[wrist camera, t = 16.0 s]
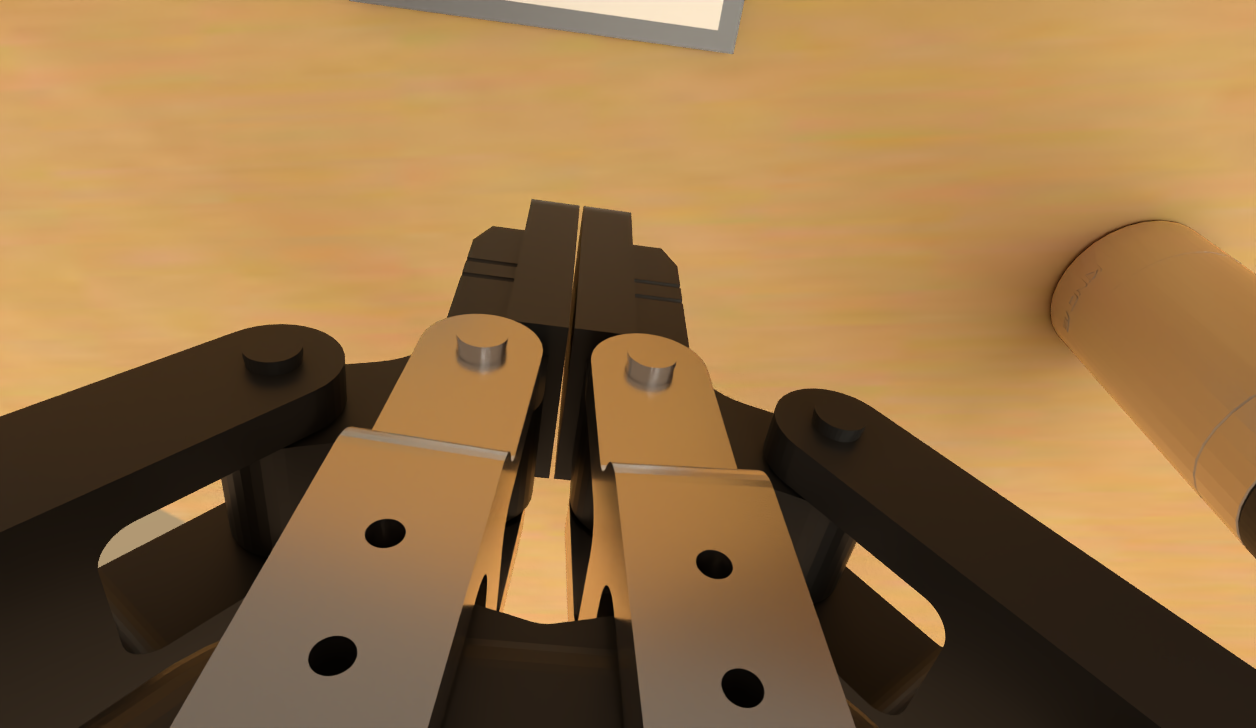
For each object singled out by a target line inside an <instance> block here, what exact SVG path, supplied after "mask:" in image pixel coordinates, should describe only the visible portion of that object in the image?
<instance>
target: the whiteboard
mask: <svg viewBox="0 0 1256 728" xmlns="http://www.w3.org/2000/svg"><path fill="white" fill-rule="evenodd" d="M349 1H354V2H361V3H369V4H376V5H383V6H390V7H397V8H405V9H412V10H419V11H426V12H433V13H441V14H448V15H455V16H462V17H469V18H477V19H484V20H491V21H498V22H505V23H513V24H520V25H527V26H534V27H542V28H549V29H556V30H563V31H570V32H578V33H585V34H592V35H599V36H606V37H614V38H621V39H628V40H635V41H642V42H650V43H657V44H664V45H671V46H678V47H686V48H693V49H700V50H707V51H715V52H722V53H729V54H733V53H734V48H735V43H736V38H737V34H738V29H739V24H740V19H741V14H742V10H743V5H744V0H349Z"/></svg>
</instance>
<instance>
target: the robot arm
mask: <svg viewBox="0 0 1256 728" xmlns="http://www.w3.org/2000/svg"><path fill="white" fill-rule="evenodd" d="M578 218H579V206H578V205H571V204H563V203H556V202H549V201H542V200H534V199H532V200H531V205H530V209H529V214H528V219H527V223H526V228H525V230H518V229H510V228H503V227H495V226H492V227H491V228H489V229H488V230H487V231H485V232H484V233H482V234H481V235H479V236H478V237H476V238H475V239H473V242H472V245H471V248H470V251H469V254H468V257H467V261H466V263H465V266H464V269H463V272H462V276H461V278H460V281H459V284H458V287H457V290H456V293H455V296H454V298H453V301H452V304H451V307H450V310H449V313H448V316H447V318H445V319H443V320H441V321H438V322H436V323H435V324H433V325H431V326H430V327H429V328H428V329H426V330H425V332H424V333H423V334H422V336H421V338H420V339H419V341H418V343H417V345H416V347H415V349H414V351H413V353H412V355H410V356H407V357H403V358H399V359H395V360H390V361H381V362H370V363H357V364H345V354H344V351H343V349H342V347H341V345H340V344H339V343H338V342H337V341H336V340H335V339H334V338H332V337H331V336H329V335H327V334H326V333H324V332H321V331H319V330H316V329H313V328H309V327H305V326H298V325H286V324H276V325H263V326H256V327H252V328H247V329H243V330H240V331H237V332H234V333H231V334H228V335H226V336H223V337H220V338H217V339H215V340H212V341H209V342H206V343H203V344H201V345H198V346H195V347H192V348H190V349H187V350H184V351H181V352H178V353H176V354H173V355H170V356H167V357H165V358H162V359H159V360H156V361H153V362H151V363H148V364H145V365H142V366H140V367H137V368H134V369H131V370H128V371H126V372H123V373H120V374H117V375H115V376H112V377H109V378H106V379H103V380H101V381H98V382H95V383H92V384H90V385H87V386H84V387H81V388H78V389H76V390H73V391H70V392H67V393H65V394H62V395H59V396H56V397H53V398H51V399H48V400H45V401H42V402H40V403H37V404H34V405H31V406H28V407H26V408H23V409H20V410H17V411H15V412H12V413H9V414H6V415H3V416H1V417H0V728H1256V669H1255V668H1253V667H1252V666H1250V665H1249V664H1247V663H1246V662H1244V661H1243V660H1241V659H1240V658H1238V657H1237V656H1235V655H1234V654H1233V653H1231V652H1230V651H1228V650H1227V649H1225V648H1224V647H1222V646H1221V645H1219V644H1218V643H1216V642H1215V641H1214V640H1212V639H1211V638H1209V637H1208V636H1206V635H1205V634H1203V633H1202V632H1200V631H1199V630H1197V629H1196V628H1194V627H1193V626H1192V625H1190V624H1189V623H1187V622H1186V621H1184V620H1183V619H1181V618H1180V617H1178V616H1177V615H1175V614H1174V613H1172V612H1171V611H1170V610H1168V609H1167V608H1165V607H1164V606H1162V605H1161V604H1159V603H1158V602H1156V601H1155V600H1153V599H1152V598H1150V597H1149V596H1148V595H1146V594H1145V593H1143V592H1142V591H1140V590H1139V589H1137V588H1136V587H1134V586H1133V585H1131V584H1130V583H1129V582H1127V581H1126V580H1124V579H1123V578H1121V577H1120V576H1118V575H1117V574H1115V573H1114V572H1112V571H1111V570H1109V569H1108V568H1107V567H1105V566H1104V565H1102V564H1101V563H1099V562H1098V561H1096V560H1095V559H1093V558H1092V557H1090V556H1089V555H1087V554H1086V553H1085V552H1083V551H1082V550H1080V549H1079V548H1077V547H1076V546H1074V545H1073V544H1071V543H1070V542H1068V541H1067V540H1066V539H1064V538H1063V537H1061V536H1060V535H1058V534H1057V533H1055V532H1054V531H1052V530H1051V529H1049V528H1048V527H1046V526H1045V525H1044V524H1042V523H1041V522H1039V521H1038V520H1036V519H1035V518H1033V517H1032V516H1030V515H1029V514H1027V513H1026V512H1024V511H1023V510H1022V509H1020V508H1019V507H1017V506H1016V505H1014V504H1013V503H1011V502H1010V501H1008V500H1007V499H1005V498H1004V497H1003V496H1001V495H1000V494H998V493H997V492H995V491H994V490H992V489H991V488H989V487H988V486H986V485H985V484H983V483H982V482H981V481H979V480H978V479H976V478H975V477H973V476H972V475H970V474H969V473H967V472H966V471H964V470H963V469H961V468H960V467H959V466H957V465H956V464H954V463H953V462H951V461H950V460H948V459H947V458H945V457H944V456H942V455H941V454H940V453H938V452H937V451H935V450H934V449H932V448H931V447H929V446H928V445H926V444H925V443H923V442H922V441H920V440H919V439H918V438H916V437H915V436H913V435H912V434H910V433H909V432H907V431H906V430H904V429H903V428H901V427H900V426H898V425H897V424H896V423H894V422H893V421H891V420H890V419H888V418H887V417H885V416H884V415H882V414H881V413H879V412H878V411H877V410H875V409H874V408H872V407H870V406H869V405H867V404H865V403H864V402H862V401H860V400H858V399H856V398H853V397H851V396H848V395H846V394H842V393H839V392H835V391H830V390H825V389H801V390H796V391H793V392H790V393H788V394H786V395H785V396H783V397H782V398H781V399H780V400H779V401H778V403H777V405H776V408H775V411H774V413H771V412H768V411H765V410H762V409H759V408H755V407H752V406H749V405H746V404H743V403H741V402H738V401H735V400H733V399H731V398H729V397H727V396H724V395H723V394H721V393H719V392H718V391H716V390H714V389H713V386H712V382H711V379H710V376H709V372H708V369H707V367H706V365H705V363H704V362H703V360H702V359H701V358H700V357H699V356H698V355H697V354H696V353H695V352H693V351H692V350H691V349H689V343H688V337H687V330H686V323H685V316H684V309H683V304H682V296H681V289H680V288H679V287H680V282H679V275H678V268H677V266H676V264H675V263H674V262H673V261H672V260H671V259H670V258H669V257H668V256H667V254H666V253H665V252H664V251H663V250H662V249H660V248H653V247H645V246H638V245H633V241H632V220H631V213H629V212H622V211H615V210H608V209H601V208H593V207H586V206H584V207H583V214H582V221H581V228H580V236H579V243H578V251H577V259H576V266H575V274H574V264H575V252H576V241H577V229H578ZM573 275H574V282H573ZM572 286H573V289H572ZM1050 311H1051V320H1052V324H1053V327H1054V329H1055V331H1056V333H1057V334H1058V336H1059V337H1060V338H1061V339H1062V340H1063V341H1064V342H1065V344H1066V345H1067V346H1068V347H1069V348H1070V349H1071V351H1072V352H1073V353H1074V354H1075V355H1076V356H1077V357H1078V359H1079V360H1080V361H1081V362H1082V363H1083V364H1084V365H1085V367H1086V368H1087V369H1088V370H1089V371H1090V373H1091V374H1092V375H1093V376H1094V377H1095V378H1096V380H1097V381H1098V382H1099V383H1100V384H1101V385H1102V386H1103V388H1104V389H1105V390H1106V391H1107V392H1108V393H1109V394H1110V395H1111V397H1112V398H1113V399H1114V400H1115V401H1116V402H1117V403H1118V404H1119V406H1120V407H1121V408H1122V409H1123V410H1124V411H1125V412H1126V414H1127V415H1128V416H1129V417H1130V418H1131V419H1132V420H1133V421H1134V423H1135V424H1136V425H1137V426H1138V427H1139V428H1140V429H1141V430H1142V432H1143V433H1144V434H1145V435H1146V436H1147V437H1148V438H1149V439H1150V441H1151V442H1152V443H1153V444H1154V445H1155V446H1156V447H1157V449H1158V450H1159V451H1160V452H1161V453H1162V454H1163V455H1164V456H1165V458H1166V459H1167V460H1168V461H1169V462H1170V463H1171V464H1172V465H1173V467H1174V468H1175V469H1176V470H1177V471H1178V472H1179V473H1180V475H1181V476H1182V477H1183V478H1184V479H1185V480H1186V481H1187V482H1188V484H1189V485H1190V486H1191V487H1192V488H1193V489H1194V490H1195V491H1196V493H1197V494H1198V495H1199V496H1200V497H1201V498H1202V499H1203V500H1204V501H1205V502H1206V503H1207V505H1208V506H1209V507H1210V508H1211V509H1212V510H1213V511H1214V513H1215V514H1216V515H1217V516H1218V517H1219V518H1220V519H1221V520H1222V522H1223V523H1224V524H1225V525H1226V526H1227V527H1228V528H1229V529H1230V531H1231V532H1232V533H1233V534H1234V535H1235V536H1236V537H1237V538H1238V540H1239V541H1240V542H1241V543H1242V544H1243V545H1244V546H1245V547H1246V549H1247V550H1248V551H1249V552H1250V553H1251V554H1252V555H1253V556H1254V557H1255V558H1256V274H1255V273H1253V272H1252V271H1251V270H1249V269H1248V268H1246V267H1245V266H1243V265H1242V264H1241V263H1240V262H1238V261H1237V260H1235V259H1234V258H1232V257H1231V256H1230V255H1228V254H1227V253H1225V252H1224V251H1222V250H1221V249H1220V248H1218V247H1217V246H1215V245H1214V244H1212V243H1211V242H1210V241H1208V240H1207V239H1205V238H1204V237H1202V236H1201V235H1200V234H1198V233H1197V232H1195V231H1194V230H1193V229H1191V228H1189V227H1187V226H1184V225H1182V224H1179V223H1176V222H1169V221H1149V222H1142V223H1138V224H1134V225H1130V226H1127V227H1124V228H1122V229H1119V230H1117V231H1115V232H1112V233H1110V234H1108V235H1107V236H1105V237H1103V238H1102V239H1100V240H1098V241H1097V242H1095V243H1094V244H1092V245H1091V246H1090V247H1089V248H1087V249H1086V250H1085V251H1084V252H1083V253H1081V254H1080V255H1079V256H1078V257H1077V258H1076V259H1075V260H1074V262H1073V263H1072V264H1071V265H1070V266H1069V267H1068V268H1067V270H1066V271H1065V273H1064V274H1063V276H1062V278H1061V279H1060V281H1059V282H1058V284H1057V287H1056V289H1055V292H1054V294H1053V297H1052V303H1051V310H1050ZM564 361H565V363H564ZM563 368H564V374H563ZM562 376H563V385H562V397H561V408H560V419H559V430H558V441H557V452H556V463H555V475H554V479H563V480H571V485H570V498H569V504H568V511H567V517H566V524H565V548H566V578H567V608H568V622H563V623H556V624H539V623H534V622H530V621H527V620H524V619H521V618H518V617H515V616H511V615H508V614H505V613H503V610H504V606H505V602H506V597H507V593H508V589H509V584H510V580H511V576H512V572H513V567H514V563H515V559H516V554H517V550H518V546H519V541H520V537H521V533H522V529H523V522H524V513H525V508H526V507H527V506H528V504H529V502H530V500H531V496H532V492H533V483H534V477H541V478H549V474H550V467H551V459H552V452H553V444H554V437H555V429H556V421H557V414H558V406H559V399H560V391H561V384H562ZM219 479H221V480H222V486H223V491H224V497H225V503H223V504H221V505H219V506H217V507H215V508H213V509H211V510H209V511H208V512H206V513H204V514H202V515H200V516H198V517H196V518H194V519H192V520H190V521H188V522H186V523H184V524H182V525H181V526H179V527H177V528H175V529H173V530H171V531H169V532H167V533H165V534H163V535H161V536H159V537H157V538H155V539H153V540H152V541H150V542H148V543H146V544H144V545H142V546H140V547H138V548H136V549H134V550H132V551H130V552H128V553H126V554H125V555H122V556H121V557H119V558H117V559H115V560H113V561H111V562H109V563H107V564H105V565H103V566H101V567H99V568H98V561H99V557H100V555H101V553H102V551H103V549H104V547H105V546H106V544H107V543H108V542H109V541H110V539H111V538H112V537H113V536H114V535H116V533H118V532H119V531H120V530H121V529H122V528H124V527H126V526H127V525H129V524H131V523H132V522H134V521H136V520H138V519H140V518H142V517H144V516H146V515H148V514H150V513H152V512H154V511H156V510H159V509H161V508H163V507H165V506H167V505H169V504H171V503H173V502H175V501H177V500H179V499H181V498H183V497H185V496H187V495H189V494H191V493H193V492H195V491H197V490H199V489H201V488H203V487H205V486H207V485H209V484H211V483H213V482H215V481H217V480H219ZM856 542H857V543H859V544H860V545H861V546H862V547H864V548H865V549H866V550H867V551H868V552H870V553H871V554H872V555H873V556H875V557H876V558H877V559H878V560H879V561H881V562H882V563H883V564H884V565H886V566H887V567H888V568H889V569H890V570H892V571H893V572H894V573H895V574H897V575H898V576H899V577H900V578H901V579H903V580H904V581H905V582H906V583H907V584H909V585H910V586H911V587H912V588H914V589H915V590H916V591H917V592H918V593H920V594H921V595H922V596H923V597H925V598H926V599H927V600H928V601H929V602H930V603H931V604H932V606H933V607H934V608H935V609H936V611H937V612H938V614H939V616H940V618H941V620H942V622H943V625H944V629H945V644H944V646H943V648H942V647H941V646H939V645H938V644H937V643H935V642H934V641H933V640H932V639H931V638H929V637H928V636H927V635H926V634H925V633H923V632H922V631H921V630H920V629H919V628H918V627H916V626H915V625H914V624H913V623H912V622H911V621H909V620H908V619H907V618H906V617H905V616H904V615H902V614H901V613H900V612H899V611H898V610H896V609H895V608H894V607H893V606H892V605H891V604H889V603H888V602H887V601H886V600H885V599H884V598H882V597H881V596H880V595H879V594H878V593H876V592H875V591H874V590H873V589H872V588H871V587H869V586H868V585H867V584H866V583H865V582H864V581H862V580H861V579H860V578H859V577H858V576H857V575H855V574H854V573H853V572H852V571H851V570H849V569H848V568H847V567H846V564H847V562H848V560H849V557H850V555H851V553H852V551H853V549H854V546H855V544H856Z"/></svg>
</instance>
